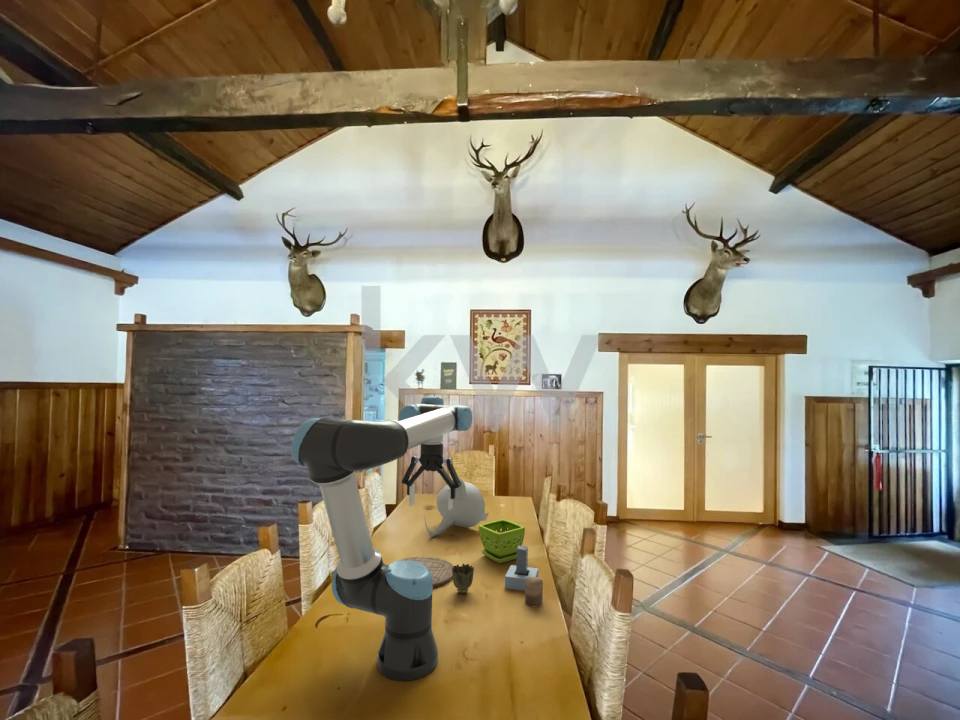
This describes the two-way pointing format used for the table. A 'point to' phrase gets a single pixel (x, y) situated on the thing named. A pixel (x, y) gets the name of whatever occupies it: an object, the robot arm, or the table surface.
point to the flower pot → (501, 540)
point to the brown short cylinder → (534, 591)
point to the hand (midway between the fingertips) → (430, 507)
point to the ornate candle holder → (462, 577)
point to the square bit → (522, 561)
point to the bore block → (518, 578)
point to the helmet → (460, 508)
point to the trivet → (436, 569)
